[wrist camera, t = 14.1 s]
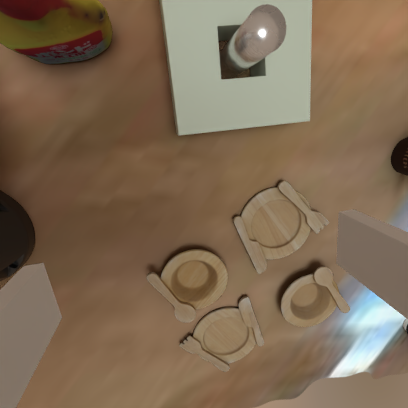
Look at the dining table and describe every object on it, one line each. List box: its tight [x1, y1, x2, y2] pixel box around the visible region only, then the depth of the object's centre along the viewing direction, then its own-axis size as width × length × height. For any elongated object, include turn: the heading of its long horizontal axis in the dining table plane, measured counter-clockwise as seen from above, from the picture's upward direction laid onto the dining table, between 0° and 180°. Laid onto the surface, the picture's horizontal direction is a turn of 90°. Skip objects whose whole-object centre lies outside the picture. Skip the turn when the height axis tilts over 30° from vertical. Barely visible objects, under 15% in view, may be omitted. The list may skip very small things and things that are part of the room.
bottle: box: [0, 0, 112, 64], centre depth 25 cm, size 12×6×20 cm, turn 92°
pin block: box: [159, 0, 312, 135], centre depth 35 cm, size 18×18×6 cm
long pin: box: [219, 4, 286, 79], centre depth 31 cm, size 4×4×14 cm
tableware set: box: [147, 181, 350, 372], centre depth 47 cm, size 35×29×4 cm
